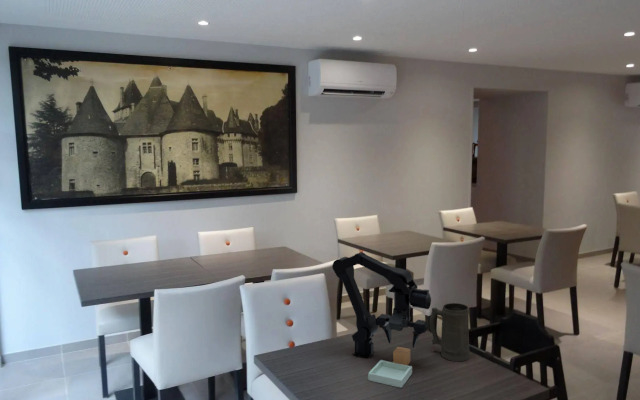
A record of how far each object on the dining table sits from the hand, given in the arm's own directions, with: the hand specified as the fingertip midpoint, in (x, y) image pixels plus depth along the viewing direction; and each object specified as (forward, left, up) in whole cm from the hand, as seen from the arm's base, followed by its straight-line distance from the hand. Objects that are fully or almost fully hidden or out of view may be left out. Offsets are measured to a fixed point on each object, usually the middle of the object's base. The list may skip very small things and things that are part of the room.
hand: (401, 345), depth 179 cm
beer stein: (+14, +15, -7) cm, 22 cm away
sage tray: (0, -13, -7) cm, 14 cm away
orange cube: (0, 0, -7) cm, 7 cm away
